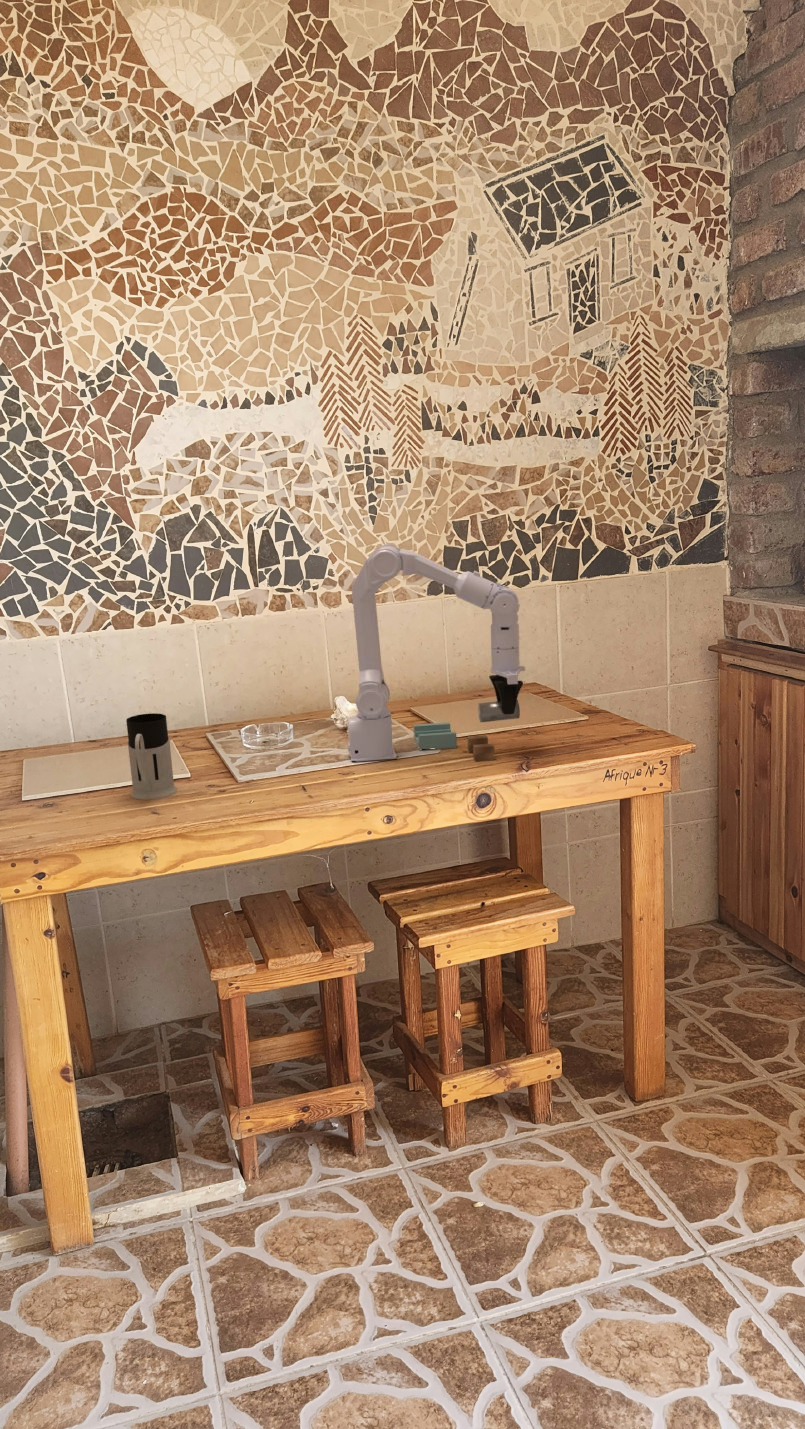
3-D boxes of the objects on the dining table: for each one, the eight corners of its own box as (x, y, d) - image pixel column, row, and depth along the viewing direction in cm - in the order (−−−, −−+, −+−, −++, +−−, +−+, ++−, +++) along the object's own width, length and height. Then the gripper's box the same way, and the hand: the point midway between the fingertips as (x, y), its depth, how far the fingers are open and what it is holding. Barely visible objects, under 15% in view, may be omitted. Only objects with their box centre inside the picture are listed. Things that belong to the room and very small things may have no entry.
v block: (419, 750, 231) (419, 736, 231) (414, 738, 241) (413, 724, 240) (456, 747, 232) (456, 733, 231) (449, 736, 242) (449, 722, 241)
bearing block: (475, 761, 221) (474, 747, 221) (468, 750, 230) (467, 736, 229) (494, 760, 222) (494, 746, 221) (486, 748, 230) (486, 735, 230)
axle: (482, 724, 223) (480, 705, 222) (478, 719, 227) (477, 701, 226) (520, 720, 224) (519, 701, 223) (516, 715, 228) (515, 697, 226)
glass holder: (180, 784, 215) (173, 711, 212) (167, 807, 202) (159, 729, 198) (136, 786, 215) (128, 713, 212) (120, 809, 201) (111, 732, 198)
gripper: (532, 651, 215) (533, 718, 218) (516, 639, 229) (518, 702, 232) (497, 654, 214) (498, 720, 218) (484, 641, 228) (485, 704, 232)
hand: (506, 711), depth 225 cm, fingers closed on axle, 4 cm apart
